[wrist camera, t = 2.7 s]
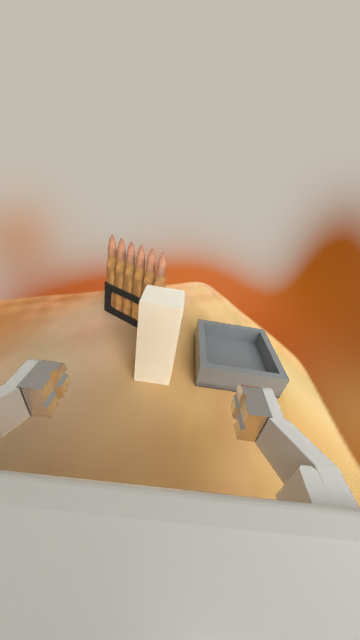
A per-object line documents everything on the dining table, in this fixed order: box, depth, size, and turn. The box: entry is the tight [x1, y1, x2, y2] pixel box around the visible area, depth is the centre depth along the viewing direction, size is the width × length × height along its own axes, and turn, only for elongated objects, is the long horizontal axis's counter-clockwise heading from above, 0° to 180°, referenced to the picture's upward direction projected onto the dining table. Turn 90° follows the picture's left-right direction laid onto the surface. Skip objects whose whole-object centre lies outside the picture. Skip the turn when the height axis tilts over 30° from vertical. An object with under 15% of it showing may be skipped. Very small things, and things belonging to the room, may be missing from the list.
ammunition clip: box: [105, 235, 166, 327], centre depth 31 cm, size 11×2×12 cm, turn 57°
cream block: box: [134, 285, 185, 385], centre depth 24 cm, size 4×4×10 cm
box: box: [194, 319, 289, 398], centre depth 29 cm, size 10×10×3 cm
